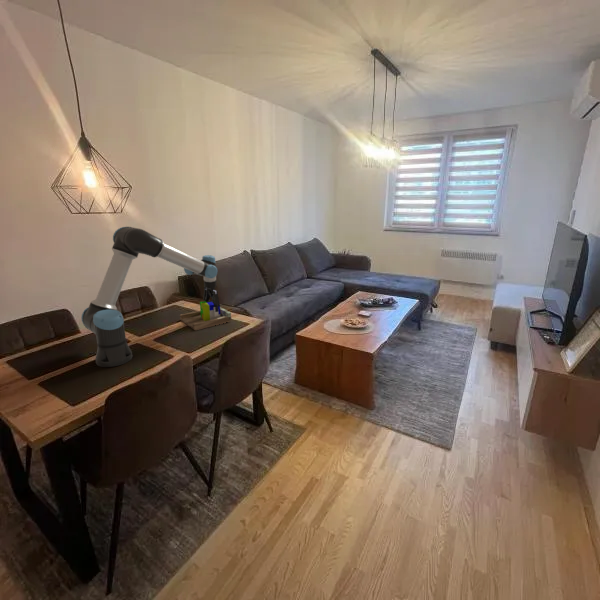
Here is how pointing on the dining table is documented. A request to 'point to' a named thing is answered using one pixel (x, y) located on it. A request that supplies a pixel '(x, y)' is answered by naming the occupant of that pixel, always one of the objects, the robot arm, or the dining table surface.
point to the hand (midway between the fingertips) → (212, 313)
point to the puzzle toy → (208, 310)
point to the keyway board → (198, 323)
